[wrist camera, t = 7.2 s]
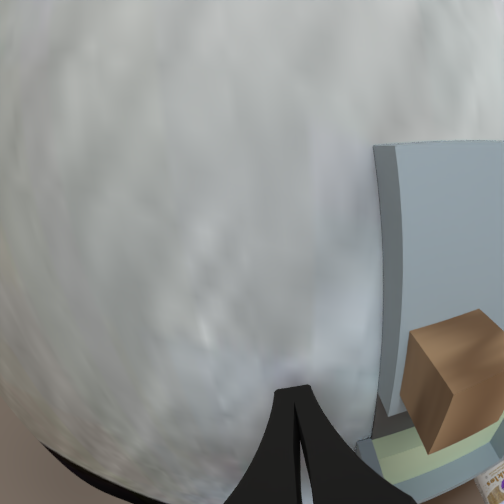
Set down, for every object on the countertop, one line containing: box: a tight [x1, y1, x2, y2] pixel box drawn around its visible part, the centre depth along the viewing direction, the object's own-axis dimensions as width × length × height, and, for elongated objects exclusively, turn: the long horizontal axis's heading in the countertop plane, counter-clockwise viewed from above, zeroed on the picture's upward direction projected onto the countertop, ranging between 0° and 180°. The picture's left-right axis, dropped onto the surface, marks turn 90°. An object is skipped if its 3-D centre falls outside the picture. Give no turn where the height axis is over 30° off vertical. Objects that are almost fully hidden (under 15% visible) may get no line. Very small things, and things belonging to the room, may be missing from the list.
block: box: [400, 309, 504, 455], centre depth 9 cm, size 4×4×4 cm
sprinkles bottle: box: [474, 460, 504, 504], centre depth 12 cm, size 5×5×13 cm
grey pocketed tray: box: [356, 140, 504, 504], centre depth 12 cm, size 14×25×4 cm, turn 11°
